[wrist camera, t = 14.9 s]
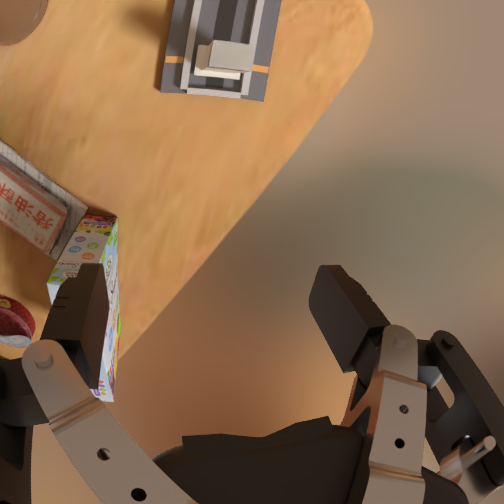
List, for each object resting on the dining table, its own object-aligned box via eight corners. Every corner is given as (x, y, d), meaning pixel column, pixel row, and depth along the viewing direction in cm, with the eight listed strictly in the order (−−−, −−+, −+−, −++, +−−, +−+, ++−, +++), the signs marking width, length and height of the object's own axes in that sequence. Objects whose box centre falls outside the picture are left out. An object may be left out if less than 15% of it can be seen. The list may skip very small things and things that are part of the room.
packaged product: (-43, 204, 25) (-21, 141, 22) (-26, 190, 29) (-3, 133, 26) (49, 275, 34) (81, 221, 32) (59, 255, 38) (90, 205, 36)
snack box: (80, 213, 35) (43, 282, 23) (119, 215, 37) (96, 287, 25) (92, 327, 46) (80, 401, 33) (123, 329, 47) (117, 405, 35)
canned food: (37, 293, 45) (47, 335, 39) (25, 327, 46) (35, 369, 41) (-16, 282, 35) (-14, 328, 30) (-23, 321, 37) (-18, 365, 32)
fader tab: (193, 75, 29) (198, 72, 21) (198, 45, 27) (205, 32, 19) (237, 79, 30) (258, 79, 22) (242, 50, 28) (265, 41, 20)
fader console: (160, 92, 30) (159, 92, 28) (188, -52, 20) (189, -59, 18) (261, 100, 33) (265, 102, 32) (286, -37, 23) (291, -42, 22)
